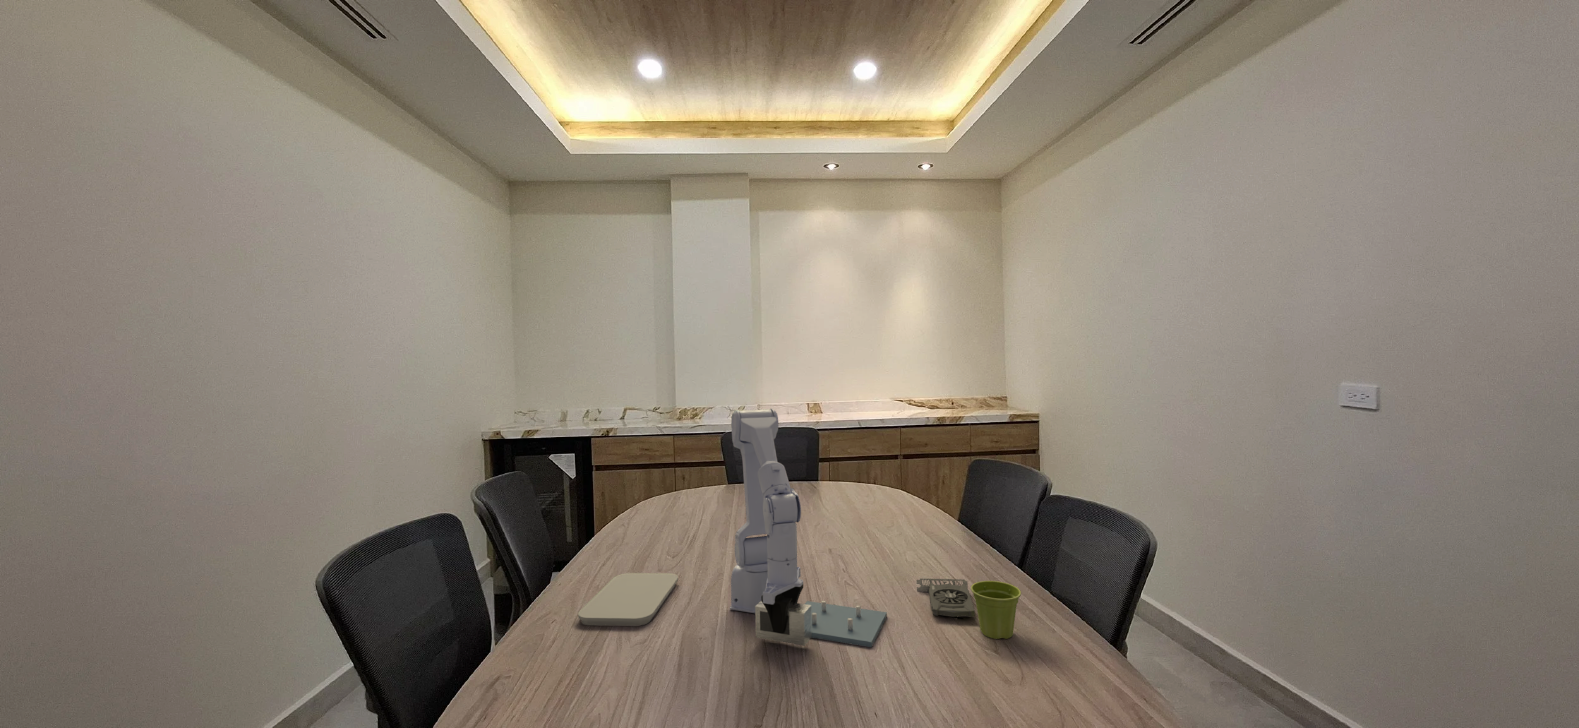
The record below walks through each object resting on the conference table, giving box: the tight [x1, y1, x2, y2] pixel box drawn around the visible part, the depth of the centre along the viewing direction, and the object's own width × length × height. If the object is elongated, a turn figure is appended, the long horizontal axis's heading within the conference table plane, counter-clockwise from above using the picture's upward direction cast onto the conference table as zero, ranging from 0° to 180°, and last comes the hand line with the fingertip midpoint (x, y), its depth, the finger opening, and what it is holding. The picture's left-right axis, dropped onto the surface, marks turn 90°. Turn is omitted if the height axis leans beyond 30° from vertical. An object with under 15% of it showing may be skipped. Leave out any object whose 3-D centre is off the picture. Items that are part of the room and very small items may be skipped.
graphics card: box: [916, 577, 976, 620], centre depth 129 cm, size 17×4×12 cm
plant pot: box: [970, 580, 1022, 640], centre depth 115 cm, size 9×9×9 cm
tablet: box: [577, 572, 679, 627], centre depth 134 cm, size 16×26×2 cm, turn 176°
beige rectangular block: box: [754, 601, 812, 647], centre depth 111 cm, size 10×4×6 cm, turn 69°
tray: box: [804, 600, 888, 648], centre depth 120 cm, size 18×14×3 cm
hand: (783, 626), depth 111 cm, fingers closed on beige rectangular block, 4 cm apart
